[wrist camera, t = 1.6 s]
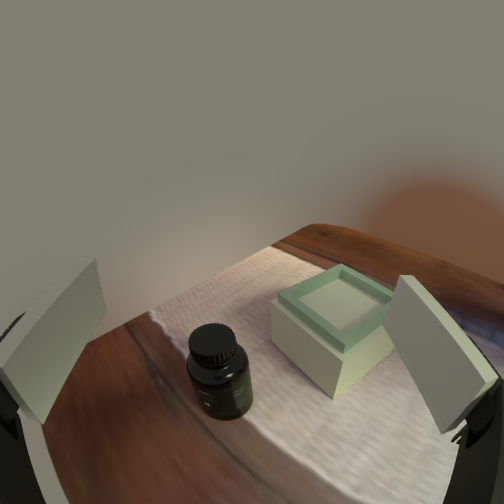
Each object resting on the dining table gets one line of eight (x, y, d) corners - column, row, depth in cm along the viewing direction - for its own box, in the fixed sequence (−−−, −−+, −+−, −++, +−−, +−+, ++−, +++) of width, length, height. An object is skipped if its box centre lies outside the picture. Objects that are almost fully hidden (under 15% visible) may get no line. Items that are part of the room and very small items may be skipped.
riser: (335, 306, 47) (340, 259, 43) (395, 347, 37) (412, 299, 32) (271, 341, 41) (269, 292, 37) (332, 399, 30) (345, 352, 26)
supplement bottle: (190, 402, 32) (165, 340, 26) (226, 372, 36) (212, 308, 31) (228, 431, 28) (209, 376, 22) (264, 397, 32) (259, 333, 27)
